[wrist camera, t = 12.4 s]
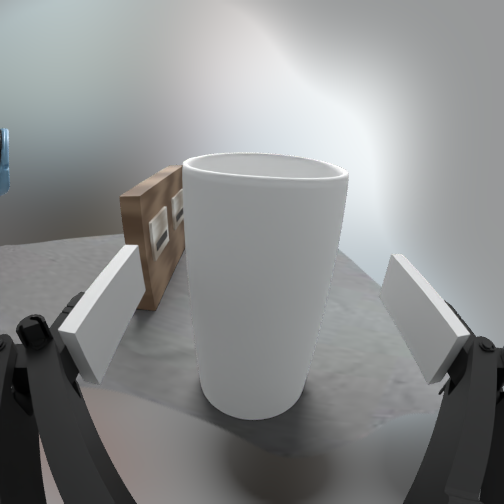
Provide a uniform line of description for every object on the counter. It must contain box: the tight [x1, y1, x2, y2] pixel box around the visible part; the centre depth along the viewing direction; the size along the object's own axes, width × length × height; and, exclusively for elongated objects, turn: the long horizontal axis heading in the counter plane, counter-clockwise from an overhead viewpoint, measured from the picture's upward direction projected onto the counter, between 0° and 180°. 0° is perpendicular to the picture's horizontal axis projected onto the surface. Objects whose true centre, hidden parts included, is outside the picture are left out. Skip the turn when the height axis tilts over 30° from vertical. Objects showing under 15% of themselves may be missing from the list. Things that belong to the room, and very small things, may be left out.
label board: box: [120, 165, 185, 311], centre depth 31 cm, size 16×8×12 cm, turn 0°
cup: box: [182, 153, 348, 420], centre depth 17 cm, size 8×8×16 cm
